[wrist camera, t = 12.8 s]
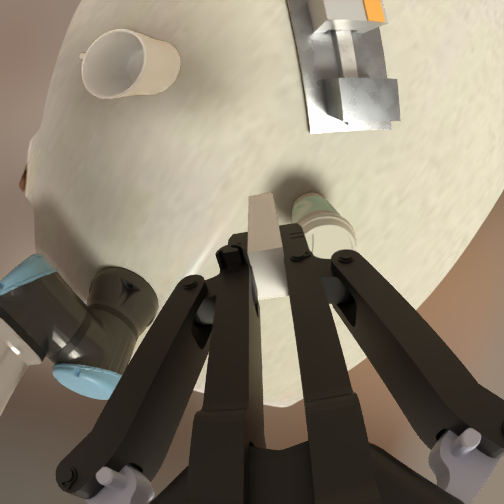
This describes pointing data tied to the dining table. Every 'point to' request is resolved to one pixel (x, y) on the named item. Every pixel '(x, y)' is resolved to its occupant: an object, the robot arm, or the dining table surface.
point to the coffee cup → (322, 225)
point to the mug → (128, 65)
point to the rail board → (327, 67)
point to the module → (346, 15)
